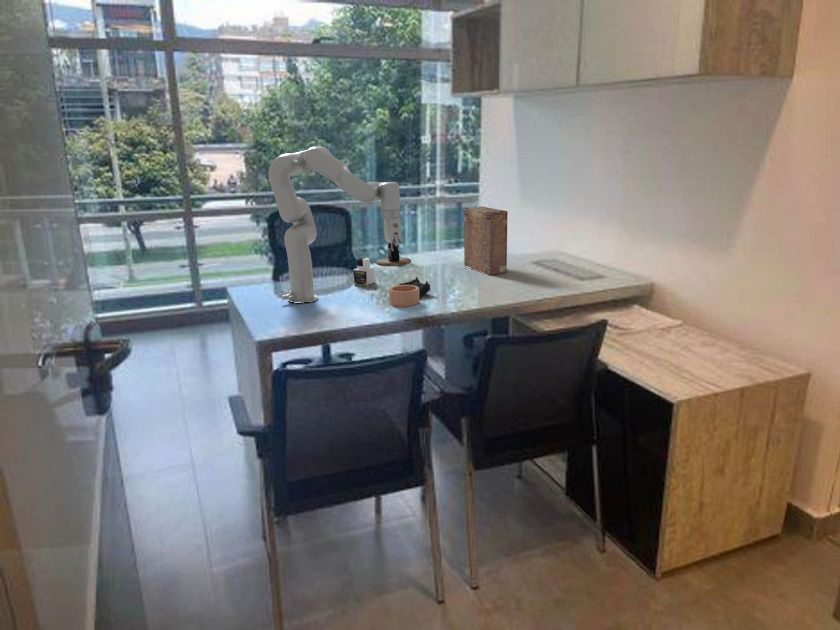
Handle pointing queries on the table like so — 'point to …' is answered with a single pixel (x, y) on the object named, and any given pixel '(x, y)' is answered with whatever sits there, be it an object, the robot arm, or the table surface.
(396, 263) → the walnut lid
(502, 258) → the brown lidded box
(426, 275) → the table surface
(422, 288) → the gaming controller
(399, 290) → the terracotta bowl
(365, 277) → the medicine bottle
